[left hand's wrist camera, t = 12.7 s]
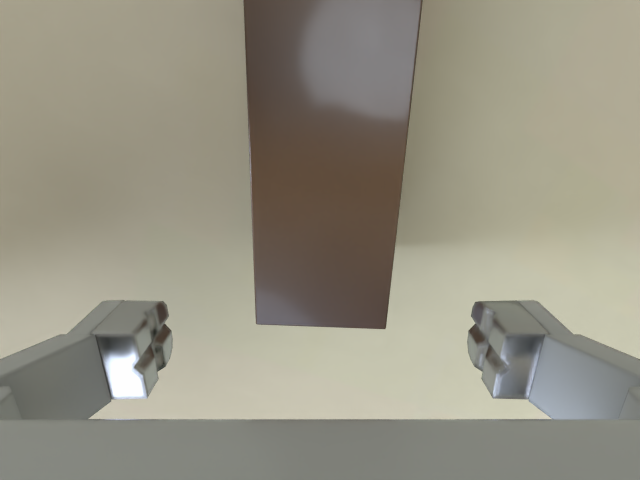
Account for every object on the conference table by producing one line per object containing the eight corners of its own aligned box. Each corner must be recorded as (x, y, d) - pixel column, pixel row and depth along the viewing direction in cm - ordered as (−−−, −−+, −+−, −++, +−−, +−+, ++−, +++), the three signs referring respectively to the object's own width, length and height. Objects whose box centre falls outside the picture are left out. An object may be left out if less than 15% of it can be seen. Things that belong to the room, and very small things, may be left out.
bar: (366, 248, 26) (385, 329, 17) (280, 245, 26) (255, 324, 17) (402, -199, 18) (478, -494, 9) (276, -203, 18) (223, -500, 9)
